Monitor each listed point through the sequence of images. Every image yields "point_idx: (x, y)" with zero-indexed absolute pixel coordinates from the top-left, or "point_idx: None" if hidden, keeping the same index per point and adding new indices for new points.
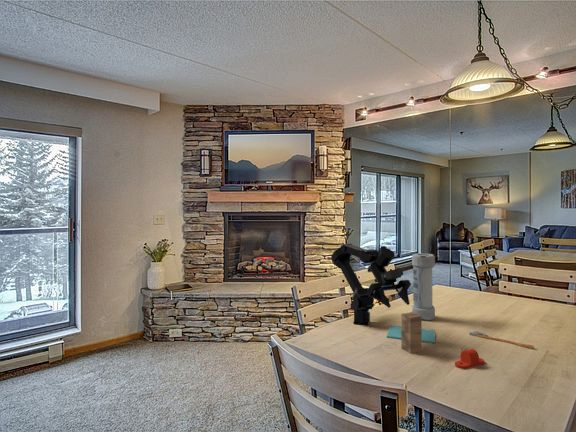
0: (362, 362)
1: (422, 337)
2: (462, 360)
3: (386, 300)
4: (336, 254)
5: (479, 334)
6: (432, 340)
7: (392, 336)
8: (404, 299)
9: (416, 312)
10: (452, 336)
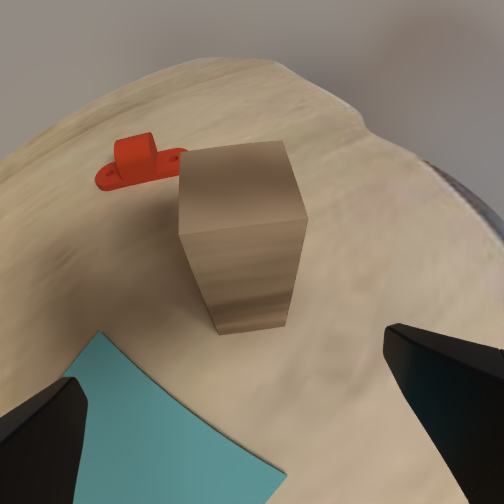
0: (458, 239)
1: (110, 397)
2: (155, 167)
3: (465, 343)
4: None
5: None
6: (95, 348)
7: (257, 462)
8: (59, 466)
9: None
10: (3, 366)
